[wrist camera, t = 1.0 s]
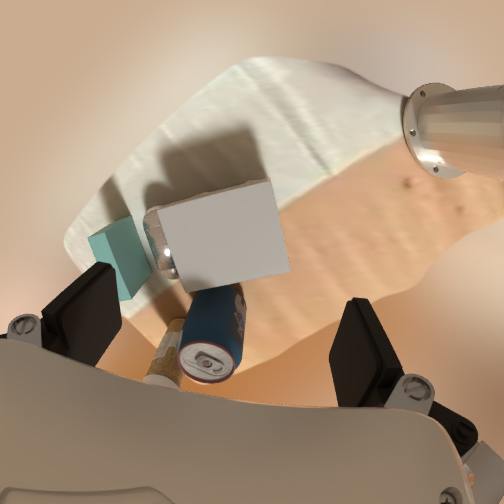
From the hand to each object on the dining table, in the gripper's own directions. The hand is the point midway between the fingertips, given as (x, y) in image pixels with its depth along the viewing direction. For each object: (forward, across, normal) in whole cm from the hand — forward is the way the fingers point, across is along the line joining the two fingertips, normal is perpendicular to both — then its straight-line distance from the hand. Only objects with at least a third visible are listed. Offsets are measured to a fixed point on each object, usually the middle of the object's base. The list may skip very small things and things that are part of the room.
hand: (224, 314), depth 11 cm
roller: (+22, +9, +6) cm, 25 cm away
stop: (+22, +15, +8) cm, 28 cm away
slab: (+19, +2, +3) cm, 19 cm away
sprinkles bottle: (+23, +8, +20) cm, 31 cm away
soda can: (+23, +3, +14) cm, 27 cm away
